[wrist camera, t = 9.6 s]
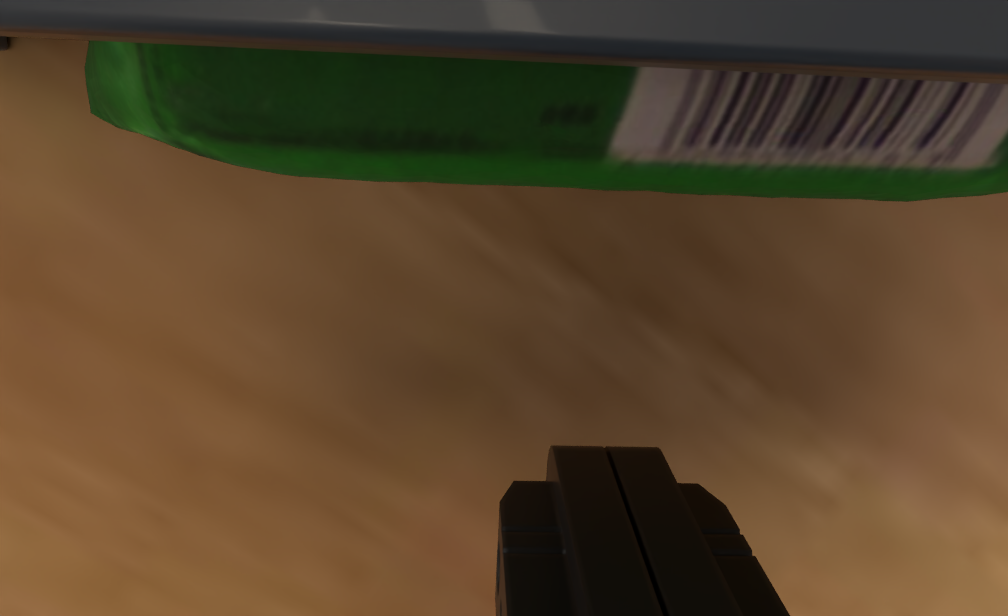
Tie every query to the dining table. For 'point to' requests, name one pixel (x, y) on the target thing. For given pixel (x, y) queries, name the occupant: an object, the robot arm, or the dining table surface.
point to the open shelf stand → (570, 31)
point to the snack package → (558, 122)
